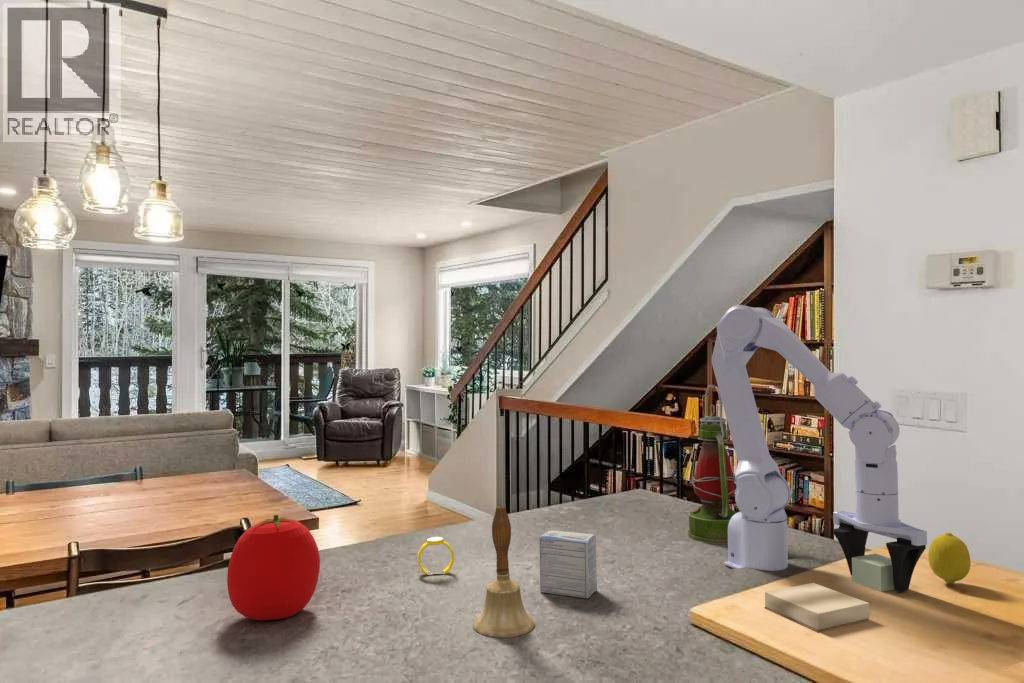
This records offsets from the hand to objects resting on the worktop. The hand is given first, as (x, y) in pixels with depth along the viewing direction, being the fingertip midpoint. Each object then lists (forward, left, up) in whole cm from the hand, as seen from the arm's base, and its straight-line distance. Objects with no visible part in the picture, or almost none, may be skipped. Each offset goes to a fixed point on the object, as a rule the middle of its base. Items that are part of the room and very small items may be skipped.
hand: (878, 582), depth 104 cm
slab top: (+5, -18, 0) cm, 19 cm away
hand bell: (-12, -56, -2) cm, 57 cm away
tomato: (-29, -84, -2) cm, 89 cm away
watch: (-37, -58, -2) cm, 69 cm away
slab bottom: (+5, -18, -2) cm, 19 cm away
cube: (0, 0, -2) cm, 2 cm away
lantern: (-36, -1, -2) cm, 36 cm away
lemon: (+2, +13, -2) cm, 13 cm away
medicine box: (-20, -42, -2) cm, 47 cm away
